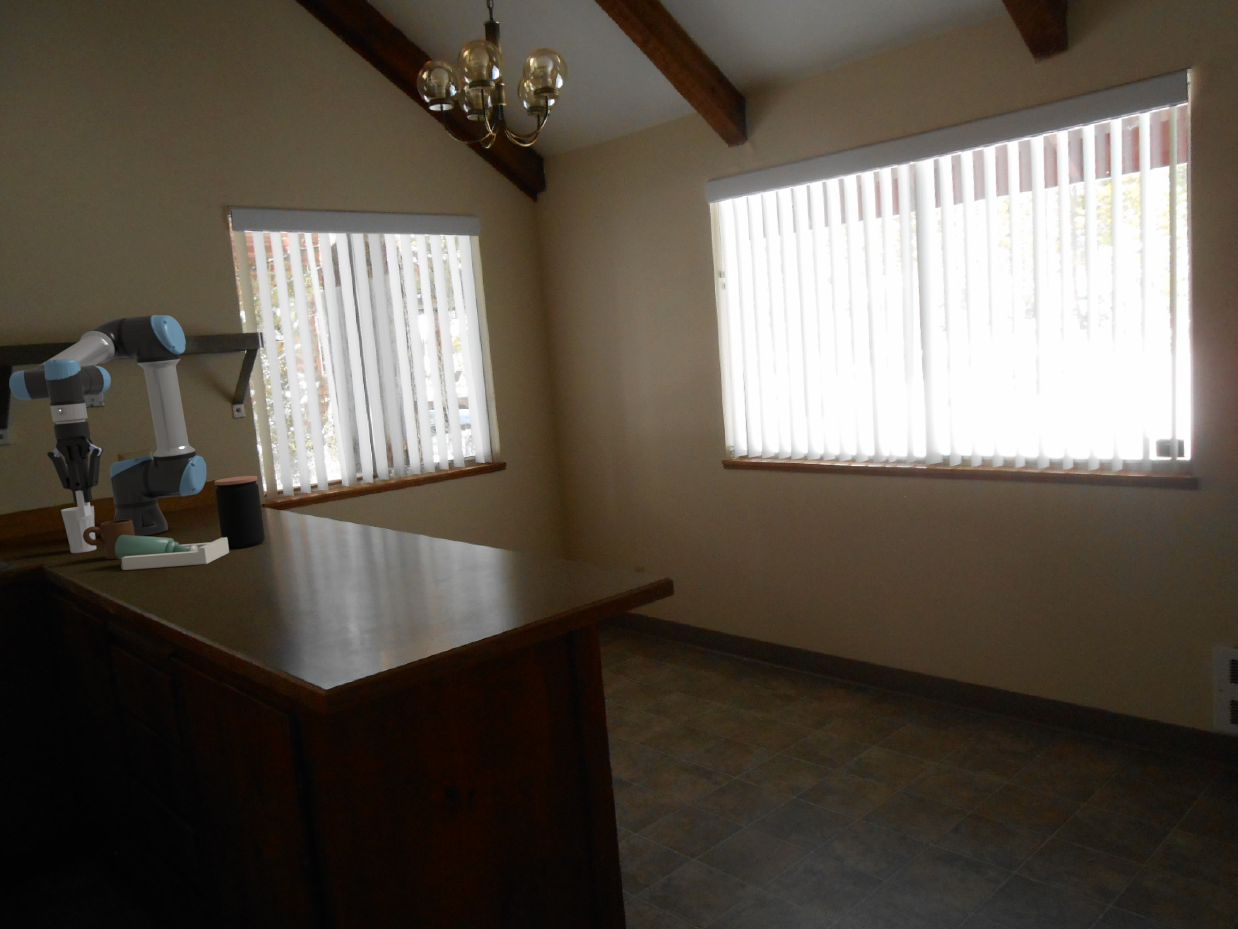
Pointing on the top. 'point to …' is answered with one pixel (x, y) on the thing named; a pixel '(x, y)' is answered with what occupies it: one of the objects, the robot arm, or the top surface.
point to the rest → (179, 556)
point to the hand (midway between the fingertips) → (85, 515)
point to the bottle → (148, 546)
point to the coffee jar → (240, 511)
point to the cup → (78, 529)
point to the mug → (109, 535)
